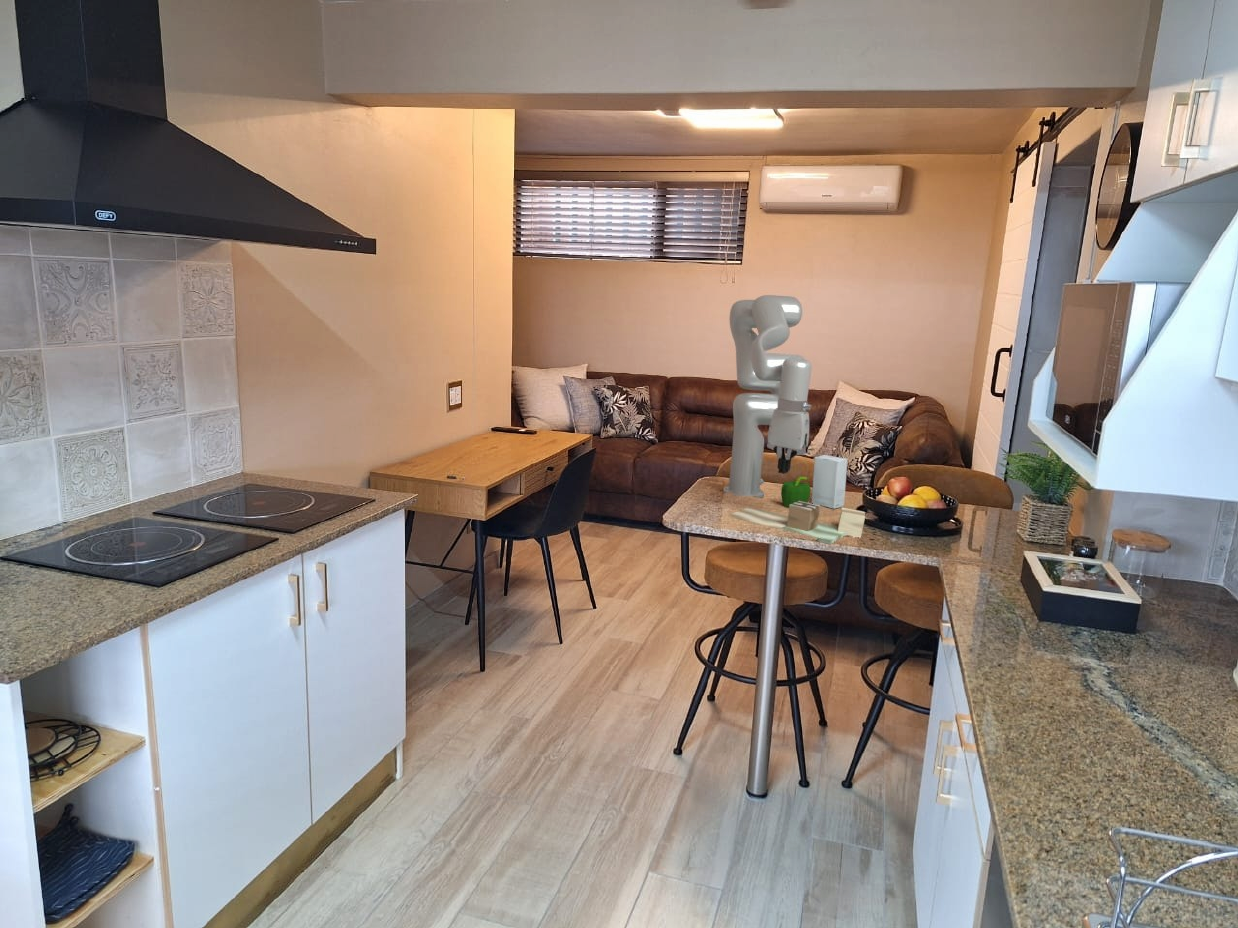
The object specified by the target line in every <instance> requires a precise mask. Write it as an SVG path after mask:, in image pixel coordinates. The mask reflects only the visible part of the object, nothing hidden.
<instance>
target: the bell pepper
mask: <svg viewBox="0 0 1238 928" xmlns="http://www.w3.org/2000/svg"><path fill="white" fill-rule="evenodd" d="M807 479H808V477H806V476H800V477H798V478H797V479H796V481H795V480H791V481H784V482H783V484H782V486H781V490H780V491H781V492H780V493H781V494H780V495H781V503H782V506H784V507H785V508H786V509H787V508H788V509H789V505H790V504H793V503H795V502H798V501H801V502H806V503H809V500H810V497H811V492H812V491H811V490H812V489H811V486H810V485H809V483H808V482H806V481H807ZM801 481H805V482H801Z"/></svg>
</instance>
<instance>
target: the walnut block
mask: <svg viewBox="0 0 1238 928" xmlns="http://www.w3.org/2000/svg"><path fill="white" fill-rule="evenodd" d="M820 508H821V505H816V504H812V502H811V503H810V502H808V503H806V502H801V501H798V502H795V503H793V504H790V505H789V508H788V513H787V514H788V515H787V516H788V522H787V527H791V528H795V529H800V530H804V531H810V530H812V529H814V528H816V527H817V525H818V522H819V514H820Z"/></svg>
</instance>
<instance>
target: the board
mask: <svg viewBox="0 0 1238 928" xmlns="http://www.w3.org/2000/svg"><path fill="white" fill-rule="evenodd" d="M726 517H728V518H732V519H736V520H740V521H746V522H749V523H753V524H757V525H762V526H766V527H771V528H775V529H779V530H783V531H787V532H791V533H797V534H801V535H803V536H804V535H805V536H809V537H813V538H817V539H815V542H818V543H823V544H828V545H832V544H833V543H835V542H837V541H839V540H841V539H842V538H844V537H846V536H845V532H839V531H838V526H837V525H831V524H826V523H823V522H819V521H818V525H817V527H816V528H814V529H812V530H810V531H804V530H800V529H795V528H791V527H787V522H788V515H786V514H783V513H778V512H773V511H770V510H764V509H761V508H760V509H759V508H755V507H751V506H748V507H745V508H743V509H740V510H738V511H736V512H732V513H730V514H728V515H726ZM843 536H844V537H843ZM838 539H839V540H838ZM836 540H837V541H836ZM834 541H835V542H834Z"/></svg>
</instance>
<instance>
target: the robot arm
mask: <svg viewBox="0 0 1238 928" xmlns="http://www.w3.org/2000/svg"><path fill="white" fill-rule="evenodd" d="M802 317H803V306H802V304H801V301H800V300H799V299H798V298H796V297H795V296H790V295H789V296H788V295H786V296H785V295H774V294H773V295H771V294H765V295H761V296H758V297H757V298H756V299H742V300H741V299H740V300H738V301H735V302H734V303H733V304H732V306H731V308H730V311H729V329H730V332H731V335H732V338H733V342H734V346H735V360H736V361H735V362H736V363H735V364H736V367H735V368H736V381H737V384H738V386H739V388H740V389H743V390H749V391H765V392H766V391H767V392H770V393H762V392H760V393H759V392H746V393H745V392H743V393H739V395H737V396H736V397H735V398H734V400H733V403H732V405H733V406H732V413H733V437H732V446H731V447H732V448H731V459H730V469H729V479H728V480H729V481H728V486H724V487H723V490H722V491H723V494H731V495H734V496H741V497H753V498H759V499H761V498H763V497H764V496H765V492H764V491H763V490H762V489H761V485H763V484H765V483H764V479H763V478H762V467H763V458H764V448H765V437H764V435H763V433H762V432H761V430H760V429H759V426H769V428H768V431H767V432H768V433H767V444H766V447H767V448H768V449H771V450H772V451H774V453H775V454H776V457H777V458H778V459H777V460H778V461H777V470H778V471H777V472H778V474H783V475H785V474H787V473H788V472H789V471H790V469H791V465H792V459H793V458H795V456H804V455H805V454H806V453H807V450H806V448H807V447H808V446H809V439H810V414H809V412H808V411H807V410H809V411H810V410H811V409H812V404H809V401H808V396H809V389H810V383H811V375H812V363H811V361H809V360H807V359H806V358H805V357H804V356H802V355H799V354H794V353H793V354H791V353H789V354H788V353H774V352H773V353H772V352H767V351H771V350H772V349H776V348H778V347H781V346H782V345H783V344H785V343H786V342H787V341H788V340H789V337H790V333H791V330H790V328H793V327H796V326H797V325H798V324H799V323H800V322H801V320H802ZM753 329H756V331H757V333H758V334H757V333H756V332H755V331H754V330H753ZM786 449H787V450H786Z"/></svg>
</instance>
